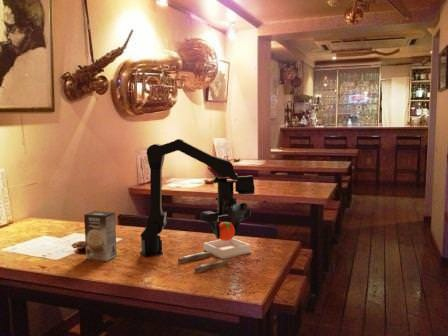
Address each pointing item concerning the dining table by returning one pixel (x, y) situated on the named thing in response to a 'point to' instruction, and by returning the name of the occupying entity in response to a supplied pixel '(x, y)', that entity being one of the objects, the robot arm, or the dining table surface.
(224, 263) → the cradle
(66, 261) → the dining table surface
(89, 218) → the coffee box
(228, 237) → the clementine
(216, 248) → the bin
